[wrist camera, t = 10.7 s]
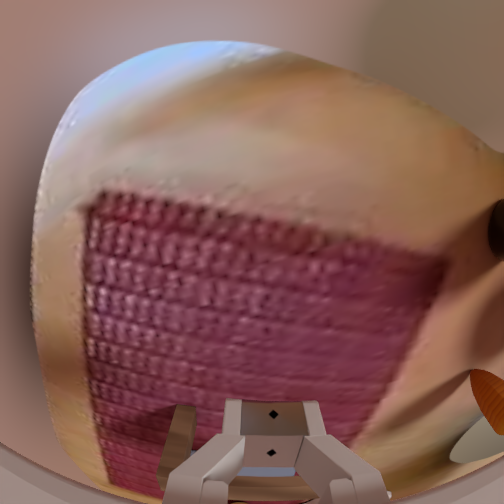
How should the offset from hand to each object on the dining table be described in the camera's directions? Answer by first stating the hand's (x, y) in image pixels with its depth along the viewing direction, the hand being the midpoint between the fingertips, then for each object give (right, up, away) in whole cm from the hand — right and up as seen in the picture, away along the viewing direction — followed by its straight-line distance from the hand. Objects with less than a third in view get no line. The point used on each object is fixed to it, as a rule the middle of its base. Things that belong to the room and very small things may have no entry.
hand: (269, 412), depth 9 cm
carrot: (+27, -10, +18) cm, 34 cm away
